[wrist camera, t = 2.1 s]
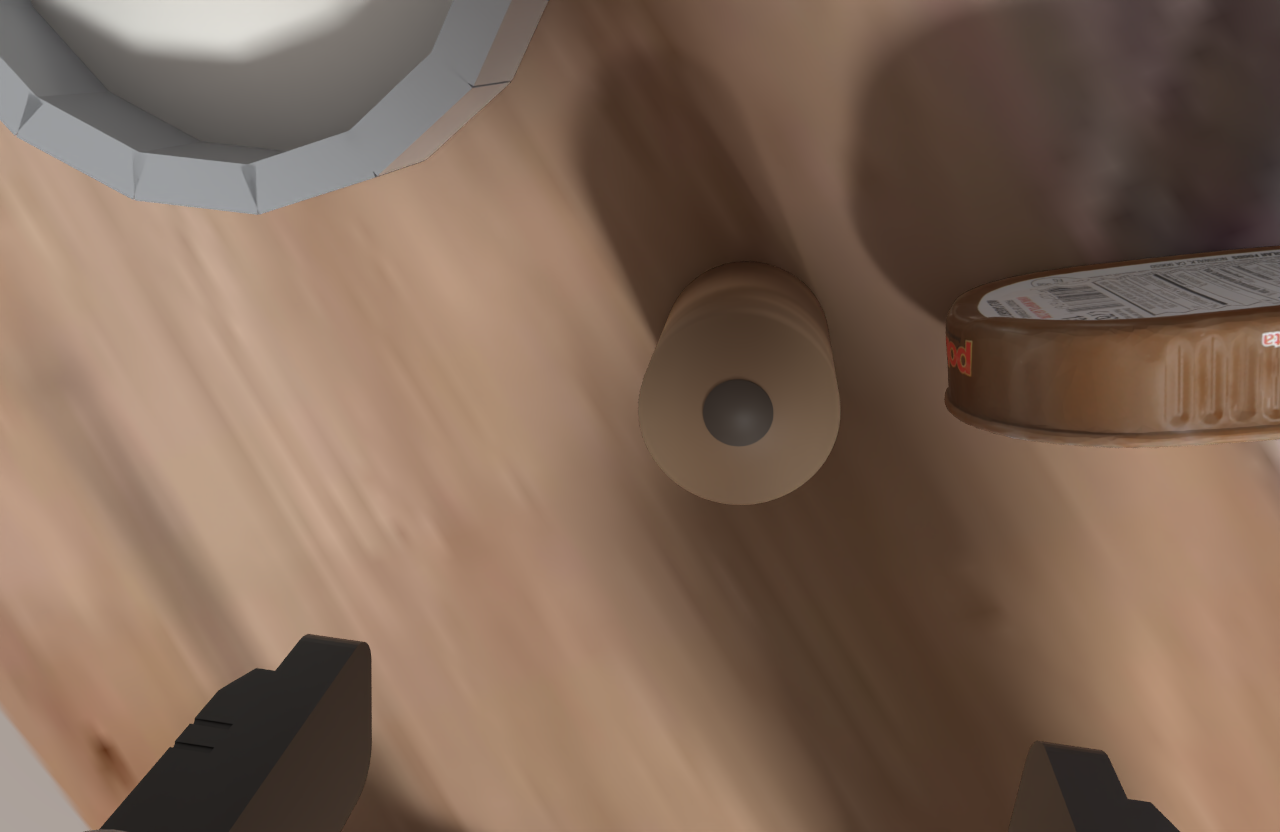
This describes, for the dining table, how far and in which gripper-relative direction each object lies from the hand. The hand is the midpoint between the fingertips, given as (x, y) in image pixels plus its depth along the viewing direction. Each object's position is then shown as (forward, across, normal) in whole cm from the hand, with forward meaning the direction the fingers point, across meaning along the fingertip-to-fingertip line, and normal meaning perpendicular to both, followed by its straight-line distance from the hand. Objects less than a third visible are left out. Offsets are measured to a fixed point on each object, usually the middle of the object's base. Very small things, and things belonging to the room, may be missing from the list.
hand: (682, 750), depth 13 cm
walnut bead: (+18, 0, 0) cm, 18 cm away
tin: (+18, -12, -3) cm, 22 cm away
